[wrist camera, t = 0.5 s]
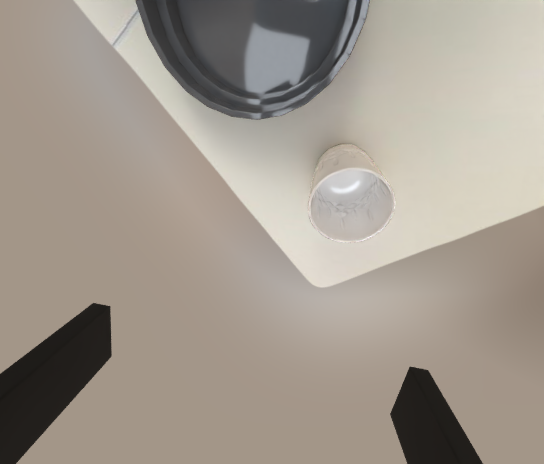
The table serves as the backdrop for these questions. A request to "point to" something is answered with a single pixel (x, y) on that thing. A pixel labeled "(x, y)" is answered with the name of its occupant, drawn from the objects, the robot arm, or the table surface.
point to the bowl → (253, 49)
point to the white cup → (349, 196)
